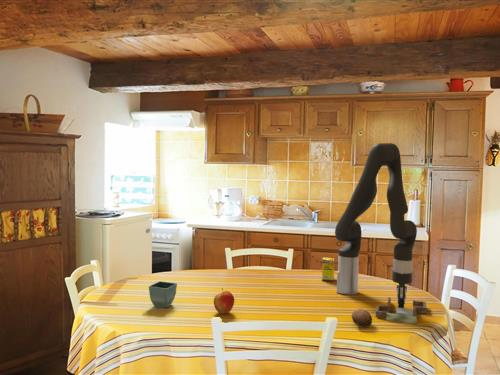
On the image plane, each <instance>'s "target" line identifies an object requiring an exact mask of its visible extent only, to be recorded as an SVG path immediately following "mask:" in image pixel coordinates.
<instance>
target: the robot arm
mask: <svg viewBox="0 0 500 375" xmlns="http://www.w3.org/2000/svg"><path fill="white" fill-rule="evenodd" d="M382 167H387V170H388V174H389V178H388V179H389V180H388V185H387V189H386V202H387V204H388V208H389V211H390V212H389V213H390V214H389V229H390V232H391V235H392V236H393V237H394V238H395V239H397V240H399V242H397V244H395V245H394V246H393V247H394V248H393V260H392V279H391V280H392V282H394V283H395V284H396V298H397V308H405V304H406V301H405V300H406V299H407V292H408V285H409V284H412V282H413V249H414V246H415V243H416V239H417V235H418V234H417V233H418V229H417V226H416V225H417V224H415V222H413V221H412V220H410V219H407V220H405V215H406V214H407V213H408V212H409V207H408V203H407V198H406V195H405V194H406V193H405V191H404V182H403V171H402V170H403V169H402V161H401V152H400V149H399V147H398V146H397V144H395V143H393V142H390V143H389V142H386V143H376V144H374V145H373V146H372V147H371V148H370V150H369V153H368V156H367V157H366V161H365V165H364V168H363V170H362V173H361V175H360V177H359V179H358V183H357V184H356V186H355V188H354V190H353V192H352V195H351V198H350V200H349V201H348V204H347V205H346V208H345V210H344V212H343V214H342V215H341V217H340V219H339V220H338V222H337V224H336V226H335V228H334V236H335V238H336V239H337V241H339V242H346V243H345V244H344V245H343V246H341V247H340V248H339V249H338V256H337V258H338V261H337V273H336V275H337V276H336V293H339V294H342V295H351V296H352V295H358V290H359V287H358V286H359V262H360V261H359V259H360V256H359V255H360V252H361V246H362V245H361V244H362V227H361V224H360V223H359V222H358V221H356V220H357V219H358V218H359V217H361V216H362V215H363V214H364V213H365V212H366V211H367V210H368V209H370V207H371V206H372V205H373V202H374V201H375V199H376V196H377V193H378V187H377V176H378V174H379V172H380V170H381V168H382ZM397 284H398V285H397Z"/></svg>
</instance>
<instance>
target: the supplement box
mask: <svg viewBox="0 0 500 375" xmlns="http://www.w3.org/2000/svg"><path fill="white" fill-rule="evenodd" d="M321 266H322V267H321V273H322V274H321V281H322V282H334V281H335V280H334V279H335V258H333V257H322V265H321Z"/></svg>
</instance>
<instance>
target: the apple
mask: <svg viewBox="0 0 500 375" xmlns="http://www.w3.org/2000/svg"><path fill="white" fill-rule="evenodd" d="M221 290H222V292H220V293H218V294H216V295H215V296H214V298H213V305H214V308H215V310H216V311H217V313H219V314H221V315H226V314H229V313H230V312H231V311H232V310H233V307H234V305H235V297H234V295H233V293H231V292H230V291H228V290H225V291H224V288H223V287H222V288H221Z"/></svg>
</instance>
